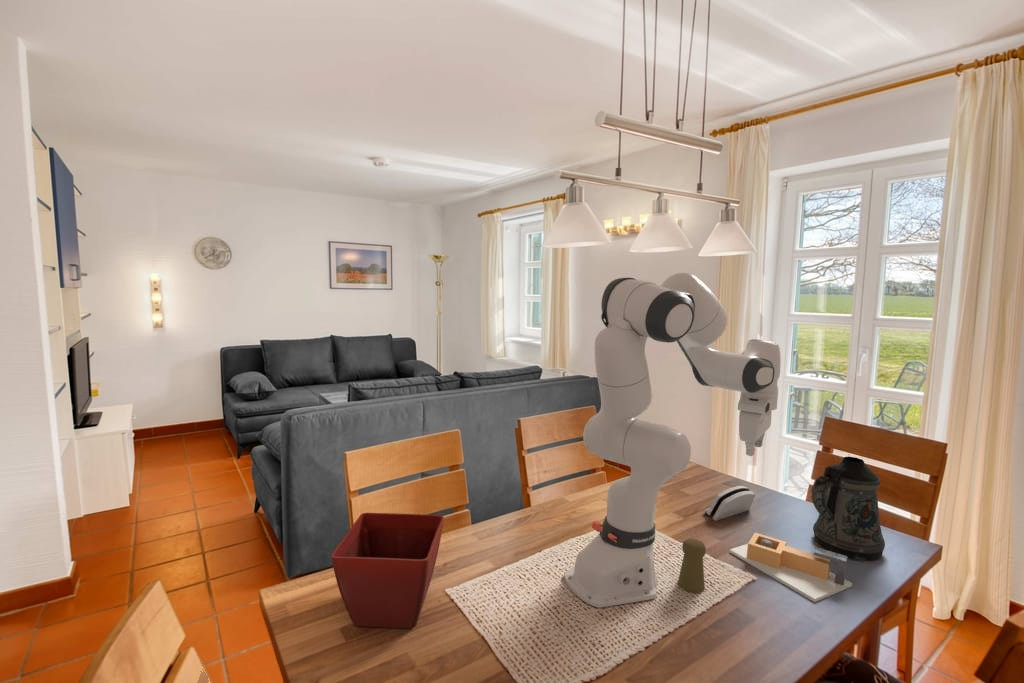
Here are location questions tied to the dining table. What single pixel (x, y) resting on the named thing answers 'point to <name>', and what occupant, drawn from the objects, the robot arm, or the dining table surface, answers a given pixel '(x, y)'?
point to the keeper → (837, 558)
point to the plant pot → (387, 567)
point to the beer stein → (848, 510)
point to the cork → (692, 566)
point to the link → (787, 557)
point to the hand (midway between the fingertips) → (754, 450)
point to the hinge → (730, 502)
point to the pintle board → (795, 576)
